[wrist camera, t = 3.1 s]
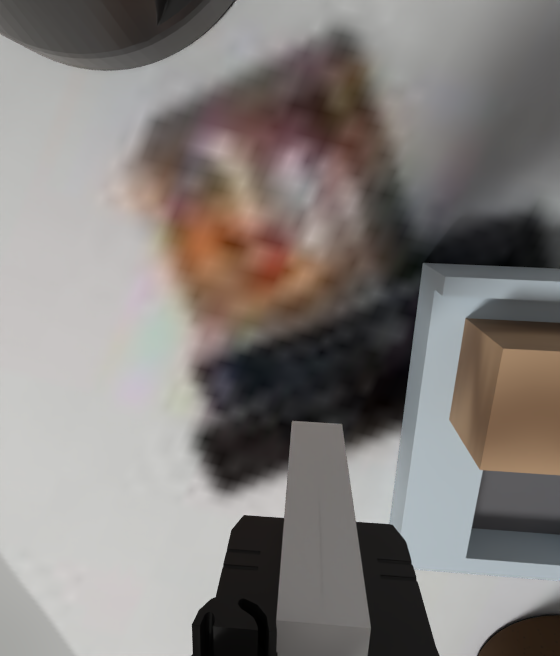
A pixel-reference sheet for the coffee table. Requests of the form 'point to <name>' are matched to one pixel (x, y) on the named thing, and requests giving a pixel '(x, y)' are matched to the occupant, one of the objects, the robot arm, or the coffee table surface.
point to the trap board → (450, 452)
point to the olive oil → (526, 638)
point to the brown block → (509, 395)
